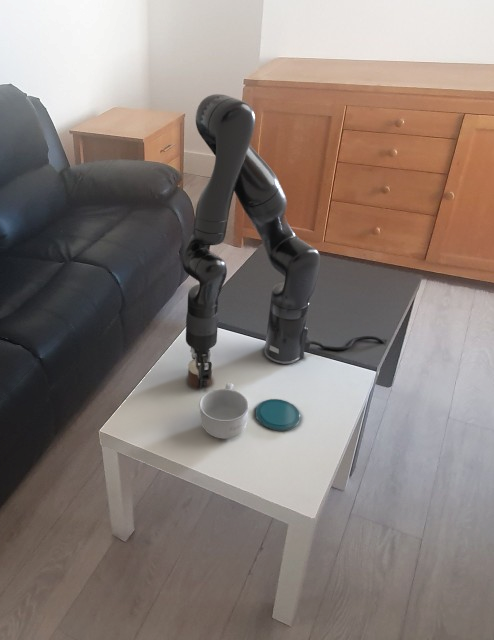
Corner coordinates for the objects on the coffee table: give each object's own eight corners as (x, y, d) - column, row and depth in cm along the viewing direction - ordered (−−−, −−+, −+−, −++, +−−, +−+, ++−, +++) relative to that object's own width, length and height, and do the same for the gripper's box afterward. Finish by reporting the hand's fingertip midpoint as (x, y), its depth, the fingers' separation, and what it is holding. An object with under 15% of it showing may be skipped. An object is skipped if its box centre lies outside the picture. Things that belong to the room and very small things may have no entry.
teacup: (235, 451, 132) (238, 426, 127) (191, 435, 137) (191, 410, 132) (256, 413, 141) (259, 387, 136) (214, 399, 146) (215, 374, 141)
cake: (208, 372, 155) (209, 357, 152) (213, 387, 150) (214, 372, 147) (185, 374, 154) (186, 359, 152) (190, 389, 150) (190, 374, 147)
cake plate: (291, 399, 144) (291, 396, 143) (305, 428, 136) (306, 426, 135) (250, 403, 144) (251, 400, 143) (262, 432, 136) (263, 430, 135)
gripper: (224, 342, 136) (220, 396, 146) (210, 308, 148) (208, 360, 158) (191, 345, 136) (190, 399, 146) (181, 310, 148) (180, 363, 158)
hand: (199, 379), depth 152 cm, fingers closed on cake, 6 cm apart
